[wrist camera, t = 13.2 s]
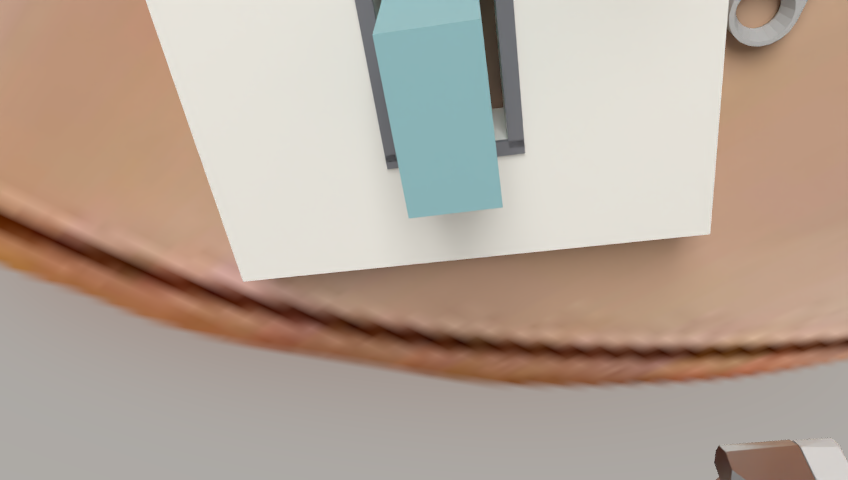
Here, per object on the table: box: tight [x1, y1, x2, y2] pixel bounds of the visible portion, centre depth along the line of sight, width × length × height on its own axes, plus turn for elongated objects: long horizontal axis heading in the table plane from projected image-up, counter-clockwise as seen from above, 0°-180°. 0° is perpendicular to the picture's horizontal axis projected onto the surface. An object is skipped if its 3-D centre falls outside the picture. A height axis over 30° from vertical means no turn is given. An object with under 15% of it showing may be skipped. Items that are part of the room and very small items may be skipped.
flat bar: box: [372, 0, 503, 218], centre depth 26 cm, size 3×6×9 cm, turn 9°
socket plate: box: [146, 0, 729, 282], centre depth 28 cm, size 20×18×3 cm
